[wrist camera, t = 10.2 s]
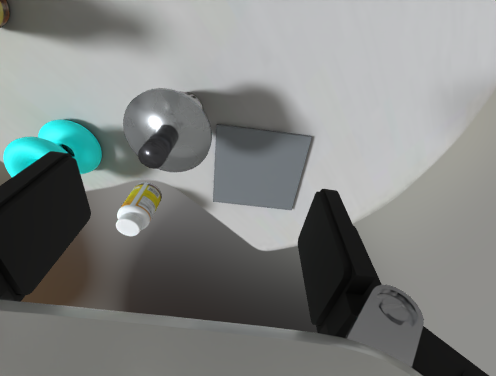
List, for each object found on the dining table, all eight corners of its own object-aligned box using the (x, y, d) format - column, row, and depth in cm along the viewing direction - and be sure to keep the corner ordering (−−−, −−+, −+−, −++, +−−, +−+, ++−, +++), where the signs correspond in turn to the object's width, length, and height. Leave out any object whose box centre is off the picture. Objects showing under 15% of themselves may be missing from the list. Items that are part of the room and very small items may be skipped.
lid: (118, 83, 30) (85, 99, 24) (212, 93, 30) (202, 112, 24) (133, 165, 36) (110, 193, 30) (211, 172, 36) (202, 202, 31)
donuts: (56, 210, 41) (-11, 172, 37) (89, 177, 49) (37, 143, 46) (83, 174, 37) (10, 127, 33) (114, 145, 45) (59, 104, 41)
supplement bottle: (134, 200, 52) (111, 236, 44) (134, 178, 49) (109, 212, 41) (162, 205, 53) (144, 242, 44) (163, 184, 50) (144, 219, 41)
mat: (217, 124, 42) (216, 125, 42) (311, 135, 43) (311, 137, 43) (213, 199, 52) (212, 201, 51) (291, 208, 52) (291, 210, 52)
